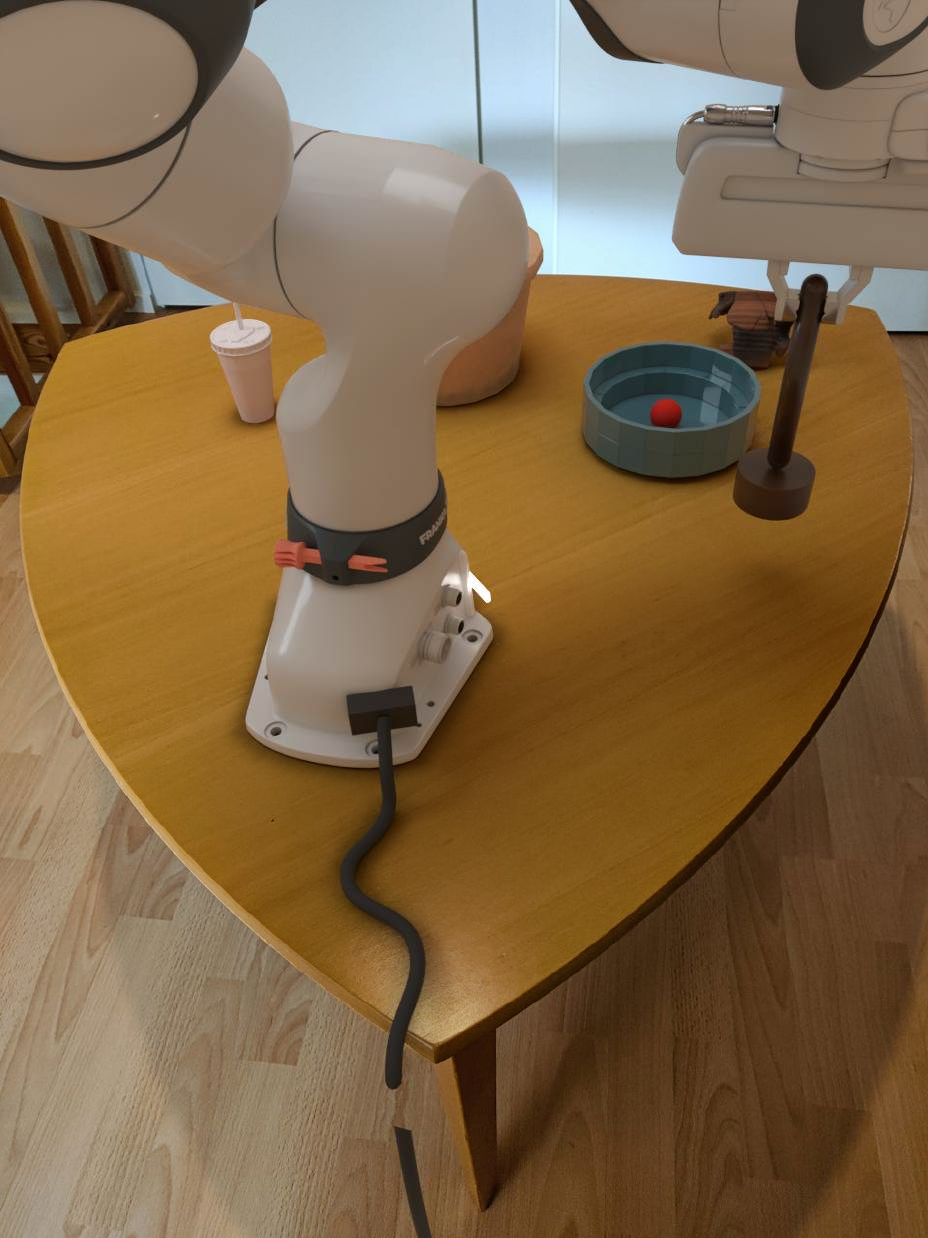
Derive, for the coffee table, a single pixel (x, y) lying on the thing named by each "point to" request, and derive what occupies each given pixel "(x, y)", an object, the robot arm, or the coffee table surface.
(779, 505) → the wooden plunger
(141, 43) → the robot arm
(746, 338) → the pottery mug
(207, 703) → the coffee table surface
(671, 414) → the cherry tomato
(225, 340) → the smoothie
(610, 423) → the bowl
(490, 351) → the pottery
